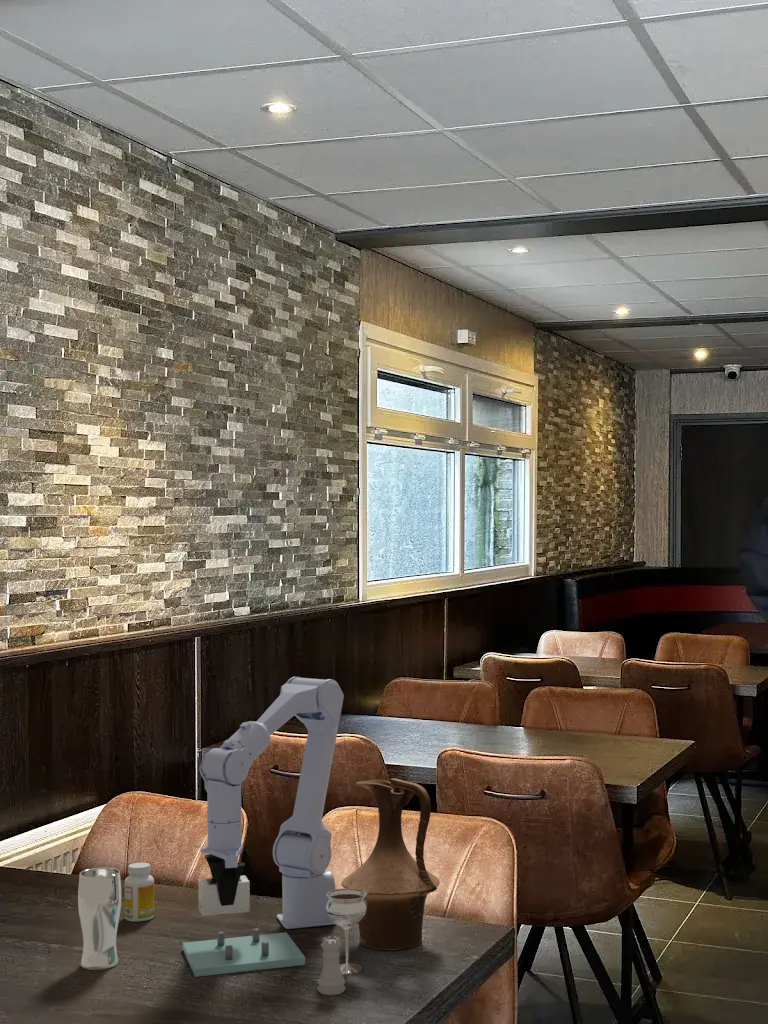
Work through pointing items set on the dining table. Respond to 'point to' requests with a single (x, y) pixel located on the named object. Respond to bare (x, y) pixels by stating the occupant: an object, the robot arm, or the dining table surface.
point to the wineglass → (347, 916)
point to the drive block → (211, 902)
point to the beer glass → (99, 916)
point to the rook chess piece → (331, 968)
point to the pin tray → (242, 953)
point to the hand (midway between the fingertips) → (224, 900)
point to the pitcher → (394, 871)
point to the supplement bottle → (139, 893)
